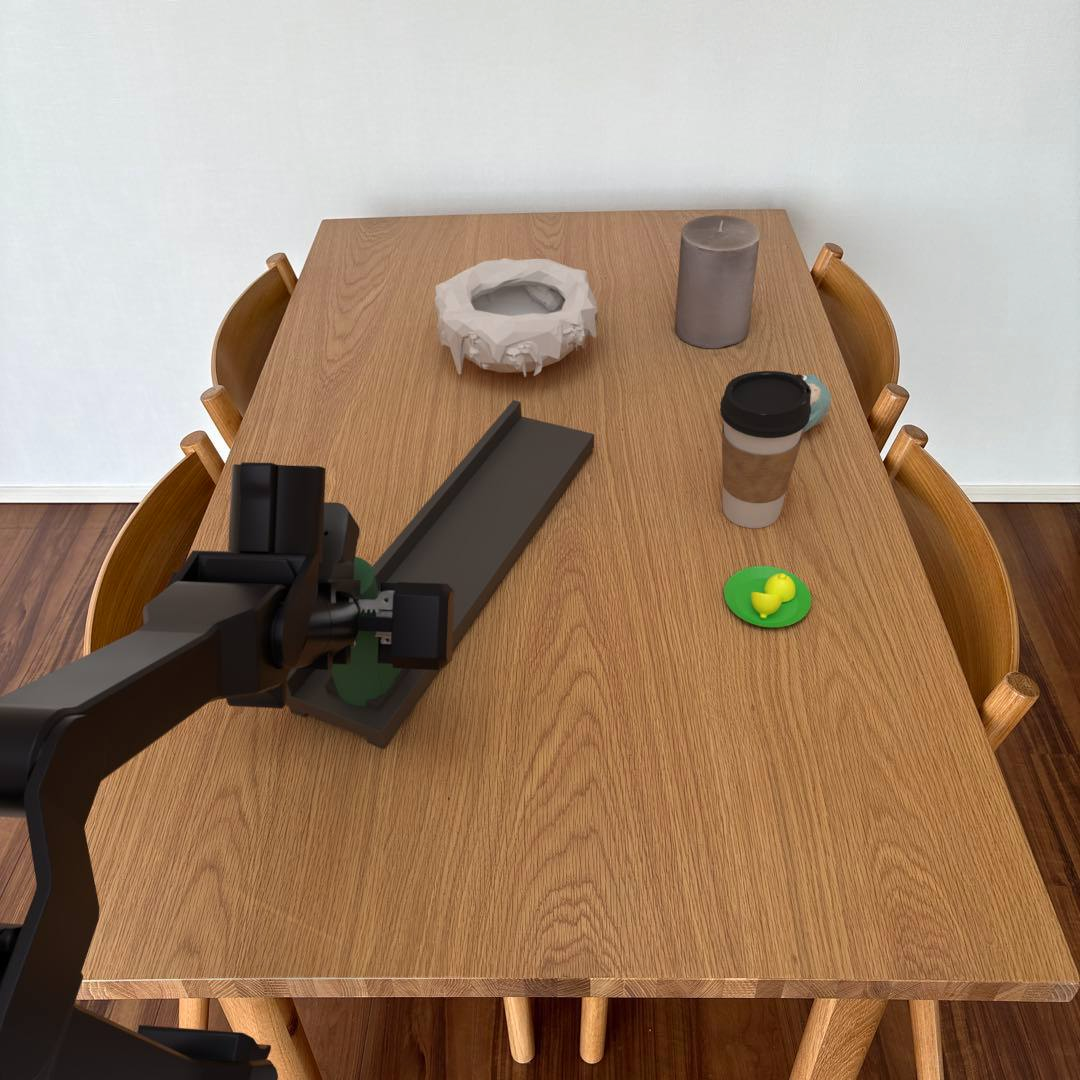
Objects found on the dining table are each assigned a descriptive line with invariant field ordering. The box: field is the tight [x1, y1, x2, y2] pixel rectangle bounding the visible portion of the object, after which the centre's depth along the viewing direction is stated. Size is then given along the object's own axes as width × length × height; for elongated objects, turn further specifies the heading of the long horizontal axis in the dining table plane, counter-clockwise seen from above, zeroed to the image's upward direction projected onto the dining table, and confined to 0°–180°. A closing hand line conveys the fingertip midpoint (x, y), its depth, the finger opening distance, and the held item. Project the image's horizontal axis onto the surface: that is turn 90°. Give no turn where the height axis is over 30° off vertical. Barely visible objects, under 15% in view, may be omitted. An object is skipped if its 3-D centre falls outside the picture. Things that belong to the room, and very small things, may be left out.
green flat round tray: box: [723, 565, 812, 628], centre depth 89 cm, size 8×8×3 cm
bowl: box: [433, 257, 599, 378], centre depth 120 cm, size 21×20×10 cm
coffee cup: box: [719, 370, 811, 529], centre depth 95 cm, size 8×8×15 cm
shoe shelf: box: [286, 399, 595, 750], centre depth 94 cm, size 44×10×4 cm, turn 155°
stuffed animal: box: [785, 371, 832, 434], centre depth 109 cm, size 11×7×12 cm
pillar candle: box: [674, 214, 761, 350], centre depth 121 cm, size 10×10×15 cm
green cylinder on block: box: [325, 556, 410, 711], centre depth 79 cm, size 11×5×12 cm, turn 155°
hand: (357, 617), depth 78 cm, fingers open, 6 cm apart
